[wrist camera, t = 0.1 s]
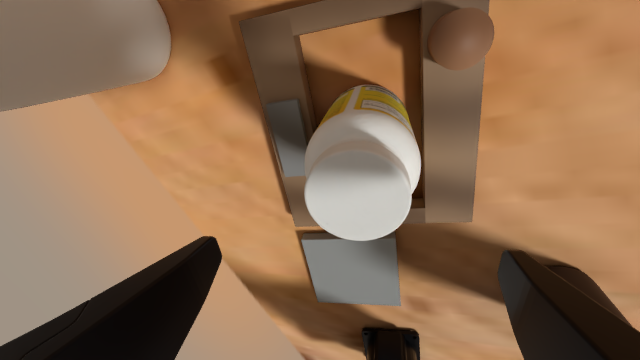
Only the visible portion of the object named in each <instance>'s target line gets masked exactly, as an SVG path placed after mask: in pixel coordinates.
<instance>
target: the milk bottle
mask: <svg viewBox="0 0 640 360" xmlns="http://www.w3.org/2000/svg"><path fill="white" fill-rule="evenodd" d="M170 52H171V34H170V29H169V25H168V22H167V19H166V16H165V14H164V12H163V10H162V8H161V6H160V4H159V2H158V1H157V0H0V111H6V110H12V109H17V108H22V107H28V106H32V105H37V104H42V103H47V102H52V101H57V100H61V99H66V98H71V97H76V96H81V95H85V94H90V93H94V92H99V91H103V90H108V89H113V88H117V87H122V86H126V85H131V84H135V83H140V82H143V81H147V80H150V79H153V78H155V77H156V76H158V75H159V74H160V73H161V72H162V70H163V69H164V68H165V66H166V65H167V63H168V60H169V57H170Z"/></svg>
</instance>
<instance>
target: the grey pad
mask: <svg viewBox="0 0 640 360" xmlns="http://www.w3.org/2000/svg"><path fill="white" fill-rule="evenodd" d="M301 241H302V245H303V248H304V252H305V256H306V259H307V263H308V267H309V270H310V274H311V278H312V281H313V285H314V289H315V292H316V296H317V300H318V302H328V303H349V304H370V305H391V306H401V302H400V289H399V276H398V263H397V250H396V236H395V232H391V233H390V234H388V235H385V236H383V237H380V238H377V239H373V240H367V241H355V240H348V239H344V238H340V237H338V236H335V235H333V234H331V233H304V234H303V237H302V239H301Z"/></svg>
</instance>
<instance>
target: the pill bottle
mask: <svg viewBox="0 0 640 360" xmlns="http://www.w3.org/2000/svg"><path fill="white" fill-rule="evenodd" d="M420 172H421V157H420V152H419V148H418V145H417V142H416V139H415V136H414V133H413V130H412V127H411V124H410V121H409V117H408V114H407V112H406V109H405V107H404V105H403V103H402V102H401V100H400V99H399V98H398V97H397V96H396V95H395V94H394V93H393V92H391V91H390V90H388V89H386V88H383V87H380V86H377V85H360V86H356V87H353V88H351V89H349V90H347V91H345V92H344V93H342V94H341V95H340V96H339V97H338V98H337V99H336V100H335V101H334V103H333V104H332V105H331V107H330V109H329V110H328V112H327V114H326V115H325V117H324V118H323V120H322V122H321V123H320V125H319V126H318V128H317V129H316V131H315V132H314V134H313V136H312V137H311V139H310V141H309V144H308V147H307V149H306V153H305V175H306V178H307V179H306V183H305V188H304V197H305V203H306V206H307V209H308V211H309V213H310V215H311V216H312V218H313V219H314V220H315V221H316V223H317V224H318V225H320V226H321V227H322V228H323V229H324V230H326V231H327V232H329V233H331V234H333V235H335V236H338V237H340V238H344V239H348V240H355V241H367V240H373V239H377V238H380V237H383V236H385V235H388V234H390V233H391V232H393V231H394V230H396V229H397V228H398V227H399V226H400V225H401V224H402V223H403V221H404V220H405V218H406V217H407V215H408V213H409V210H410V207H411V200H412V193H413V192H414V190H415V188H416V186H417V184H418V181H419V176H420Z"/></svg>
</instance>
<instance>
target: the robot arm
mask: <svg viewBox="0 0 640 360" xmlns="http://www.w3.org/2000/svg"><path fill="white" fill-rule="evenodd" d="M221 260H222V254H221V251H220V248H219V245H218V243H217V240H216V238H215V237H212V236H203V237H201V238H199V239H197V240H195V241H193V242H192V243H190V244H188V245H186V246H184V247H183V248H181V249H179V250H178V251H176V252H174V253H172V254H170V255H168V256H167V257H165V258H163V259H161V260H159V261H158V262H156V263H154V264H152V265H150V266H149V267H147V268H145V269H143V270H142V271H140V272H138V273H136V274H134V275H132V276H131V277H129V278H127V279H125V280H123V281H122V282H120V283H118V284H116V285H114V286H113V287H111V288H109V289H107V290H106V291H104V292H102V293H100V294H98V295H97V296H95V297H93V298H91V300H88V301H86V302H84V303H82V304H80V305H79V306H77V307H75V308H73V309H71V310H69V311H68V312H66V313H64V314H62V315H60V316H59V317H57V318H55V319H53V320H51V321H49V322H47V323H45V324H43V325H41V326H39V327H37V328H35V329H33V330H32V331H30V332H28V333H26V334H24V335H22V336H20V337H18V338H16V339H14V340H12V341H10V342H8V343H6V344H4V345H2V346H0V360H175V358H176V356H177V354H178V352H179V350H180V348H181V346H182V344H183V342H184V340H185V338H186V337H187V335H188V333H189V331H190V329H191V327H192V325H193V323H194V321H195V319H196V317H197V315H198V314H199V312H200V310H201V308H202V305H203V304H204V302H205V299H206V297H207V295H208V293H209V290H210V287H211V285H212V283H213V280H214V278H215V275H216V272H217V270H218V268H219V265H220V263H221ZM498 280H499V283H500V287H501V290H502V294H503V297H504V301H505V305H506V308H507V312H508V315H509V319H510V322H511V325H512V329H513V332H514V335H515V337H516V340H517V343H518V345H519V348H520V350H521V353H522V355H523V357H524V360H640V332H639V331H638V330H636V329H635V328H633V327H632V326H630V325H629V324H627V323H626V322H625V321H623V320H622V319H620V318H619V317H617V316H616V315H614V314H613V313H612V312H610V311H609V310H607V309H606V308H604V307H603V306H601V305H600V304H599V303H597V302H596V301H594V300H593V299H591V298H590V297H588V296H587V295H586V294H584V293H583V292H581V291H580V290H578V289H577V288H576V287H574V286H573V285H571V284H570V283H568V282H567V281H565V280H564V279H563V278H561V277H560V276H558V275H557V274H555V273H554V272H552V271H551V270H550V269H548V268H547V267H545V266H544V265H542V264H541V263H539V262H538V261H537V260H535V259H534V258H532V257H531V256H529V255H528V254H526V253H525V252H523V251H521V250H504V251H503V253H502V257H501V261H500V264H499V268H498ZM362 337H363V343H364V348H365V354H366V359H367V360H420V347H419V334H418V333H417V332H415V331H401V330H387V329H373V328H363V329H362Z"/></svg>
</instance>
